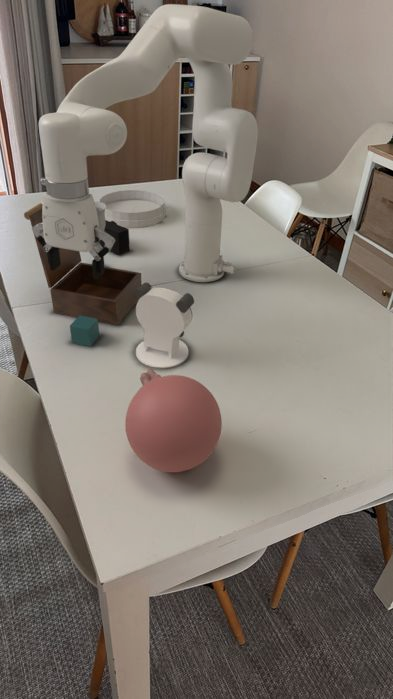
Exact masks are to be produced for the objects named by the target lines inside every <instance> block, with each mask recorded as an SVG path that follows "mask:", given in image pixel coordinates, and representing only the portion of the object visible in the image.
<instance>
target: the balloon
mask: <svg viewBox="0 0 393 699" xmlns="http://www.w3.org/2000/svg"><path fill="white" fill-rule="evenodd" d="M139 380H140V382H141V384H142V386H141V387H139V389H138V391H137V392H135V394H134V395H133V397H132V399H131V400H130V402H129V404H128V407H127V410H126V414H125V422H124V424H125V427H124V428H125V435H126V438H127V441H128V444H129V446H130V448H131V449H132V451H133V453H134V454H135V456H136V457H138V458H139V460H140V461H141V462H142V463H144V464H146V465H147V466H149V467H151V468H152V469H155V470H157V471H161V472H164V473H182V472H186V471H189V470H192V469H194V468H196V467H198V466H200V465H202V464H203V463H204V462H205V461H206V460H207V459H208V458H209V457H210V456H211V455H212V453H213V452H214V451H215V449H216V448H217V445H218V444H219V440H220V438H221V433H222V427H223V426H222V425H223V423H222V421H223V420H222V414H221V409H220V407H219V406H220V405H219V404H218V402H217V400H216V398H215V396H214V395H213V393H212V392H211V391H210V390H209V389H208V388H207V387H206V386H205V385H204V384H202V383H201V382H200V381H198V380H196V379H194V378H191V377H188V376H185V375H179V374H170V375H169V374H168V375H163V376H161V375H160V374H158V373H156V372H155V369H153V368H148V369H147V372H142V373H141V374H140V378H139Z"/></svg>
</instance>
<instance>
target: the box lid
mask: <svg viewBox="0 0 393 699" xmlns="http://www.w3.org/2000/svg"><path fill="white" fill-rule="evenodd" d="M42 207H43V203H40V202H39V203H38V204H36V205H35V206H33V207H31V208H30V209H28V210H26V211H25V212H24V213H23V217H24V219H25V220H28V221H30V225H31V228H32V227H33V226H35V225H37V224H39V223H41V222H43V219H42ZM32 232H33V231H32ZM33 236H34V240H35V243H36V247H37V251H38V254H39V258H40V262H41V265H42V268H43V272H44V273H43V274H44V276H45V280H46V283H47V287H48V289H51V288H53V287H54V286H55V285H56V284H57V283H58V282H59V281H60V280H62V279H63V278H64V277H65V276H66V275H67V274H68V273H69V272H71V271H72V270H73V269H74V268H75V267H76V266H77V265H78V264H79V263H82V256H81V252H80V251H74V250H68V249H63V248H59V254H60V262H61V265H60V266H59V267H57V268H56V269H55V270H53V271H52V270H50V266H49V263H48V257H47V252H46V251H44V249H43V246H42V245H41V244H40V243H39V242H38V240H37V237H36V236H35V234H34V232H33Z"/></svg>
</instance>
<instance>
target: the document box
mask: <svg viewBox="0 0 393 699" xmlns="http://www.w3.org/2000/svg"><path fill="white" fill-rule="evenodd" d="M142 285H143V284H142V272H138V271H132V270H126V269H121V268H115V267H109V266H106V267H105V270H104V273H103V274H102V275H101V276H100V277H99V278H98V279H95V278H94V277H93V266H92V263H87V262H80V263H79V264H78V265H76V266H75V267H74V268H73V269H72V270H71V271H70V272H69V273H67V274H66V275H65V276H64V277H63V278H62V279H61V280H60V281H58V282H57V283H56V284H55V285H54V286H53V287H52V288H49V289H50V290H49V291H50V297H51V303H52V310H53V313H54V314H59V315H63V316H68V317H74V318H78V316H79V315H80V316H85V317H90V318H95V319H98V323H104V324H109V325H114V326H118V325H120V324H121V322H122V321H123V319H124V318H125V317H126V315H127V314H128V313H129V312H130V310H132V308H133V307H134V305H135V304H137V302H138V300H139V299H140V298H137V297H136V296H135V291H136V290H137V289H138V288H139V287H140V286H142Z"/></svg>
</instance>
